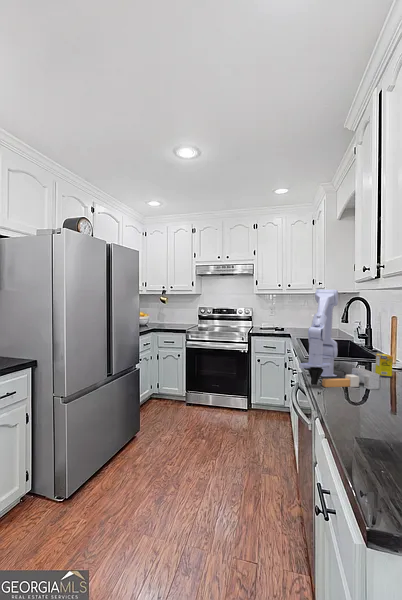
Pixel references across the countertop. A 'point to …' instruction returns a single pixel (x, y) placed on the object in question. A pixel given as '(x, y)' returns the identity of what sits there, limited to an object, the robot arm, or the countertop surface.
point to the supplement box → (384, 365)
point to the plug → (342, 382)
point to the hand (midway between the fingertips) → (314, 384)
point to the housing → (367, 378)
